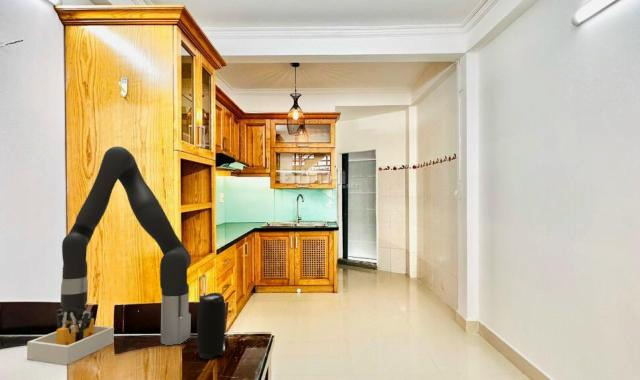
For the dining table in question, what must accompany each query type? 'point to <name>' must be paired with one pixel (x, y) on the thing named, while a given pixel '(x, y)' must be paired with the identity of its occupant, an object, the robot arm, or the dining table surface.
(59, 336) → the pipe clamp
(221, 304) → the portable speaker
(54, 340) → the walled box
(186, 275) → the robot arm
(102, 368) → the dining table surface
